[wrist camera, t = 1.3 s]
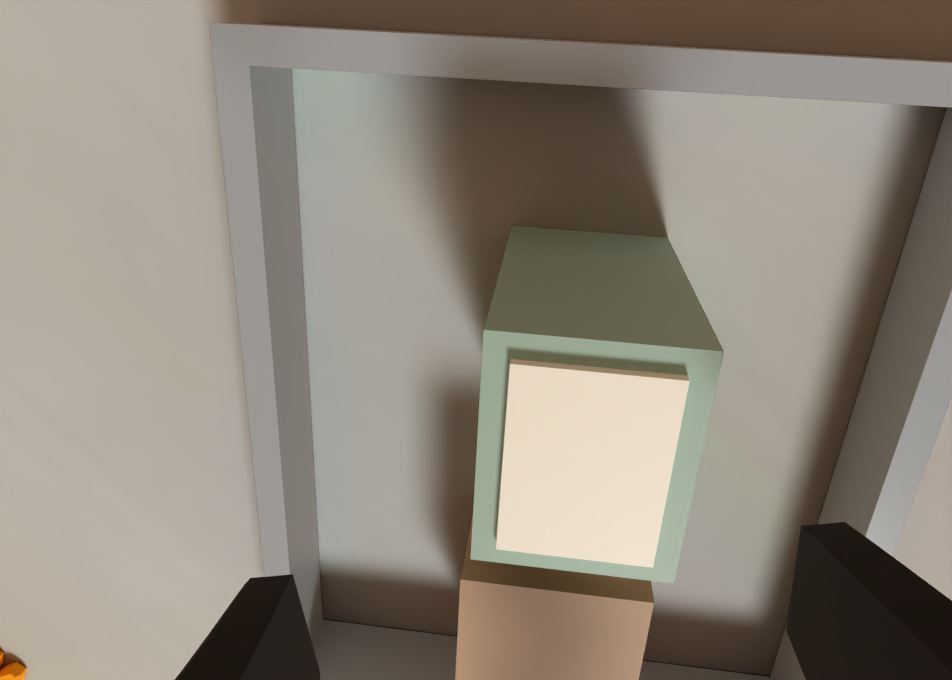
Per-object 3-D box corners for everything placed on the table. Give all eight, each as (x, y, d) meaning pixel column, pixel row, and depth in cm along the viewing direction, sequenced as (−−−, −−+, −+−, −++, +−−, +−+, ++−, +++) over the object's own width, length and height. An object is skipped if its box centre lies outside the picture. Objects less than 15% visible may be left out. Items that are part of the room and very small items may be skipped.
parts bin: (999, 63, 15) (1074, 69, 13) (789, 697, 24) (812, 767, 21) (257, 23, 17) (209, 22, 15) (301, 633, 25) (276, 693, 23)
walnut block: (639, 505, 21) (654, 602, 18) (617, 626, 24) (627, 735, 20) (477, 488, 22) (460, 579, 18) (470, 608, 24) (454, 711, 20)
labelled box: (667, 237, 18) (726, 357, 11) (639, 407, 20) (675, 591, 13) (512, 225, 18) (481, 334, 12) (500, 393, 20) (469, 566, 14)
